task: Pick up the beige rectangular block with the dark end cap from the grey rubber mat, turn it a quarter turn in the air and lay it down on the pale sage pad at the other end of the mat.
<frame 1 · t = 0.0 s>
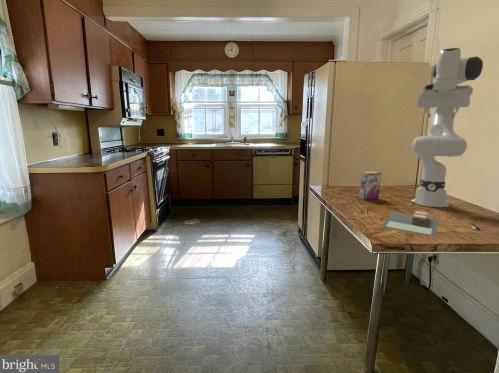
hand: (440, 117, 136), 48 cm above the table, tool pointing down, fingers open, 8 cm apart
candy bar box: (368, 198, 183), on the table
rubber mat: (410, 224, 136), on the table
beige rectangular block: (419, 221, 138), point 1 cm above the table, touching rubber mat
chocolate bar: (459, 223, 139), on the table
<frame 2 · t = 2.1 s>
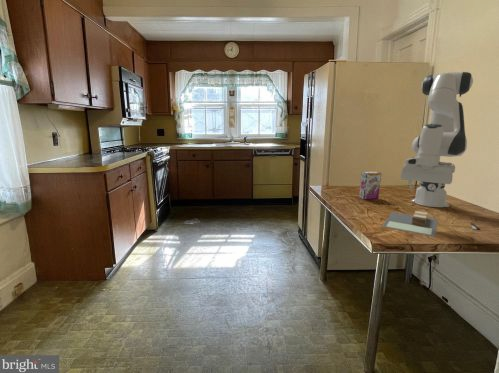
hand: (423, 191, 135), 15 cm above the table, tool pointing down, fingers open, 8 cm apart
nothing on the table moved.
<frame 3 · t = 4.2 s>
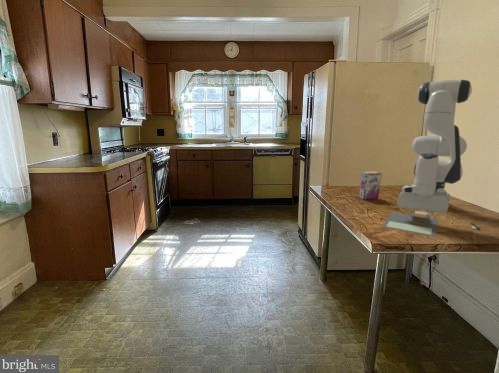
hand: (419, 218, 138), 2 cm above the table, tool pointing down, fingers closed on beige rectangular block, 5 cm apart
beige rectangular block: (419, 221, 138), point 1 cm above the table, touching gripper, rubber mat
everything else where it was.
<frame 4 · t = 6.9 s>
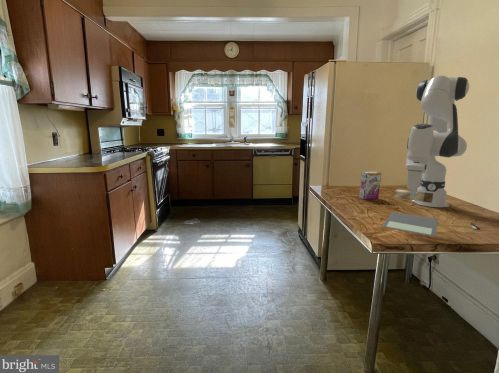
hand: (413, 196, 126), 15 cm above the table, tool pointing down, fingers closed on beige rectangular block, 5 cm apart
beige rectangular block: (413, 199, 126), point 13 cm above the table, touching gripper
everything else where it was.
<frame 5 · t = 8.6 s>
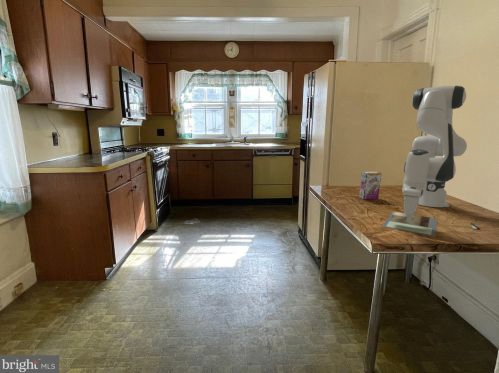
hand: (409, 219, 128), 4 cm above the table, tool pointing down, fingers closed on beige rectangular block, 5 cm apart
beige rectangular block: (409, 222, 128), point 3 cm above the table, touching gripper
everything else where it was.
when the fingers open (3 cm above the table, at t = 9.8 s): beige rectangular block stays where it is, resting on rubber mat.
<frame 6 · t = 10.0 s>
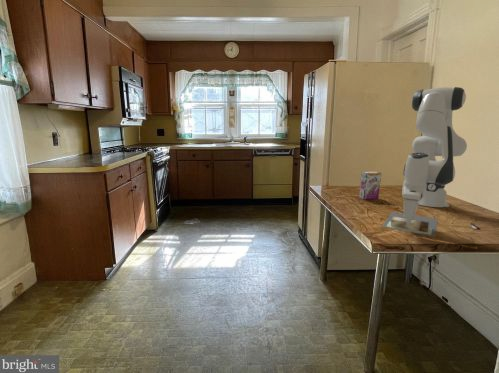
hand: (409, 222, 129), 3 cm above the table, tool pointing down, fingers open, 7 cm apart
beige rectangular block: (409, 227, 129), point 1 cm above the table, touching rubber mat
everything else where it was.
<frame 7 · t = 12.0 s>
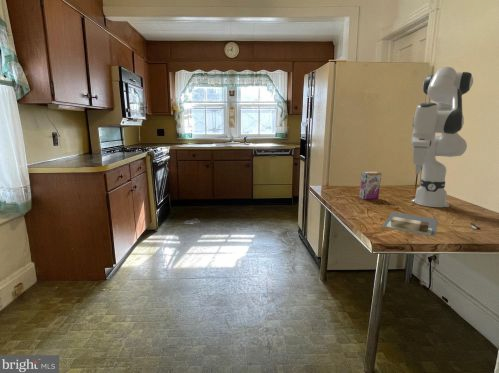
hand: (418, 172, 133), 24 cm above the table, tool pointing down, fingers open, 8 cm apart
nothing on the table moved.
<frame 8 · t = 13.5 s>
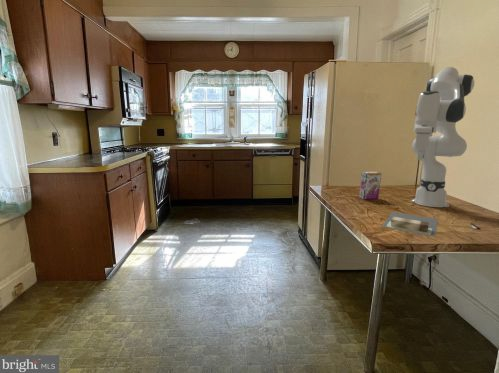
hand: (420, 159, 135), 29 cm above the table, tool pointing down, fingers open, 8 cm apart
nothing on the table moved.
at the end: beige rectangular block inside the target area (0.1 cm from its centre), point 0.6 cm above the table; beige rectangular block tilted 0°; the gripper is holding nothing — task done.
